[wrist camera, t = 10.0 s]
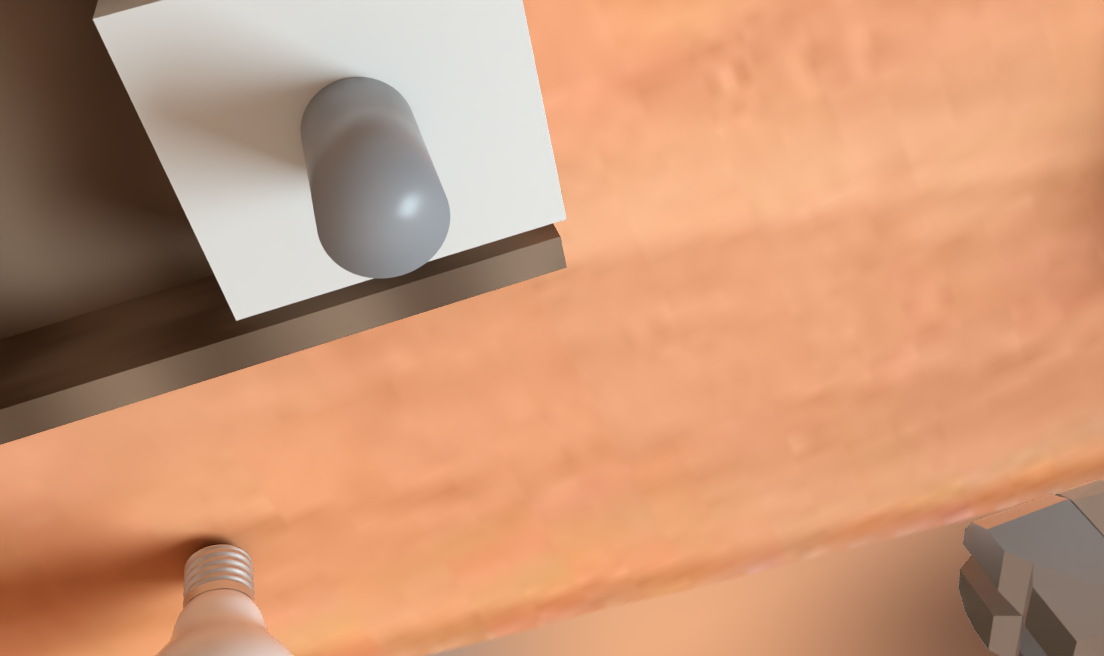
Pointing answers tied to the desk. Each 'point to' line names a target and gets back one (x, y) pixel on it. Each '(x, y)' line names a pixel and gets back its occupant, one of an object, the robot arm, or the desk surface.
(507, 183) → the white box with knob
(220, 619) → the lightbulb
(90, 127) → the bay
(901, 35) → the desk surface
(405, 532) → the desk surface
